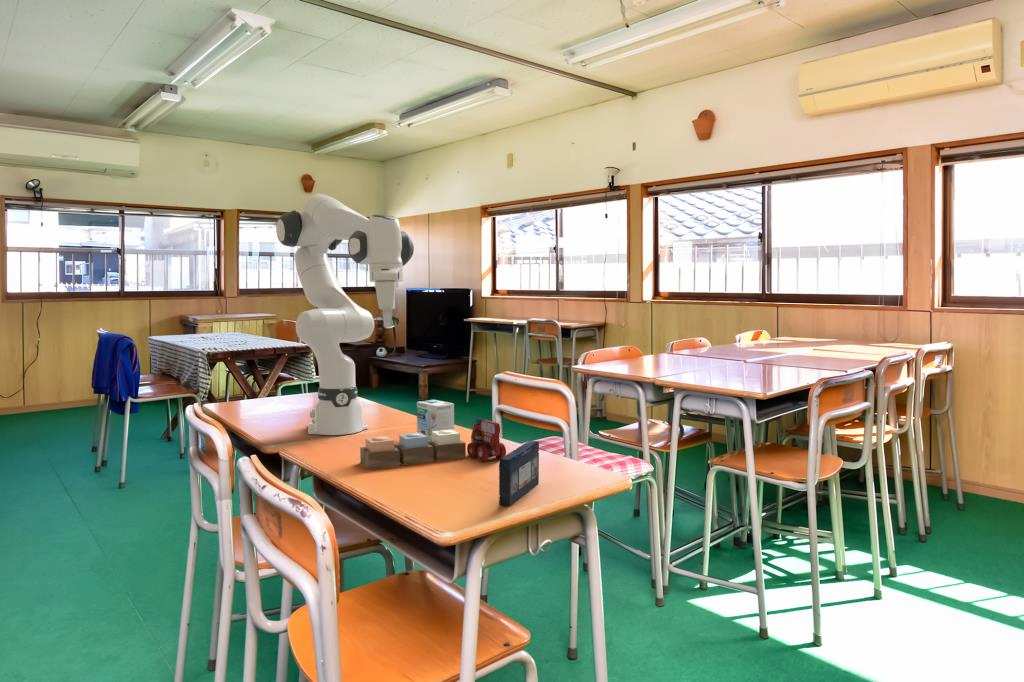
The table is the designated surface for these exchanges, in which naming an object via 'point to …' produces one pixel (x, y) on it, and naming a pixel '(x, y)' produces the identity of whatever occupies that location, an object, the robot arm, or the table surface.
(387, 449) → the terracotta block
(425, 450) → the walnut bases
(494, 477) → the table surface
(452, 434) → the cream block
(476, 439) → the toy fire truck
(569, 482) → the table surface
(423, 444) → the slate block
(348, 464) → the table surface
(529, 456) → the vhs cassette tape
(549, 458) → the table surface
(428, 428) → the light bulb box
